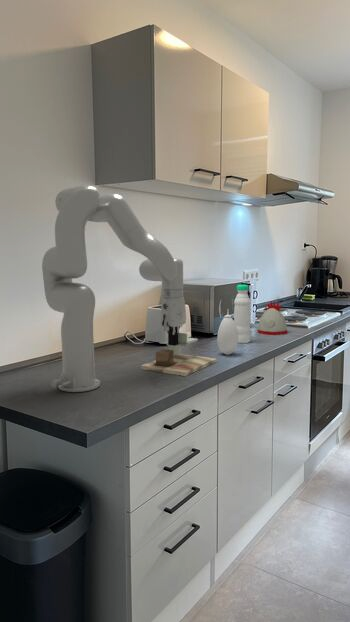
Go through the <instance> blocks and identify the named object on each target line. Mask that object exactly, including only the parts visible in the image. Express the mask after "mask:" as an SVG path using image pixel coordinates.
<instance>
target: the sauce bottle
mask: <svg viewBox="0 0 350 622" xmlns="http://www.w3.org/2000/svg"><path fill="white" fill-rule="evenodd" d="M216 338H217V345H218V348H219V350H220V352H221V353H222V354H225V355H226V356H227V355H228V356H229V355H231V354H233V352H235V351H236V350H237V347H238V344H239V343H238V331H237V327H236V325H235V322H234V318H232V315H231V314H230V313H229V309H227V314H226V315H224V317H223V319H222V320H221V322H220V325H219V327H218V331H217V337H216Z"/></svg>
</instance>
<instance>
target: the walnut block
mask: <svg viewBox="0 0 350 622" xmlns="http://www.w3.org/2000/svg"><path fill="white" fill-rule="evenodd" d="M155 360H156V366H162V367H170V366H172V365H174V350H168V348H167V349H166V348H161V349H158V350H156V351H155Z"/></svg>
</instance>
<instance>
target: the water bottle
mask: <svg viewBox="0 0 350 622" xmlns="http://www.w3.org/2000/svg"><path fill="white" fill-rule="evenodd" d="M236 290H237V294H236V296H235V299H234V301H233V303H234V309H233V320H234V322H235V325H236V327H237V331H238V344H248V343H250V342H251V302H252V301H251V299H250V297H249V294H248V291H249V285H248V284H238V285H237V286H236Z"/></svg>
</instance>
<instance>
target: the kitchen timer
mask: <svg viewBox="0 0 350 622" xmlns="http://www.w3.org/2000/svg"><path fill="white" fill-rule="evenodd" d="M264 308H265V311H264V313H262V315H261V316H260V319H259V322H258V326H257V333H258V334H260V335H264V336H265V335H266V336H267V335H268V336H282V335H286V334H288V325H287V322H286V319H285V317H284V314H282V312H281V311H280V310H281V308H282V304H280V303H279V301H278V302H277V303H276V302H275V301H270V303H267V306H266V305H264Z"/></svg>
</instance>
